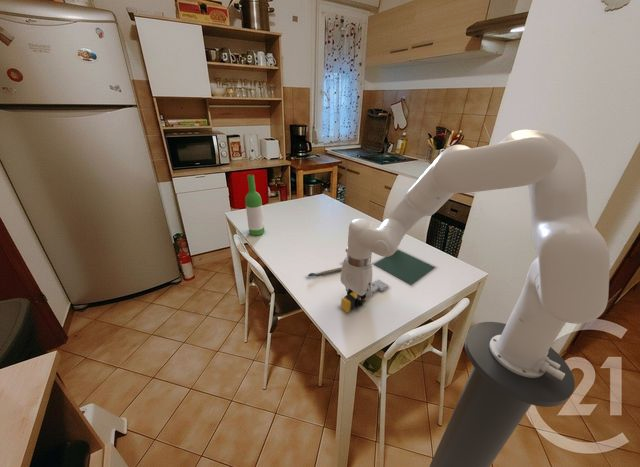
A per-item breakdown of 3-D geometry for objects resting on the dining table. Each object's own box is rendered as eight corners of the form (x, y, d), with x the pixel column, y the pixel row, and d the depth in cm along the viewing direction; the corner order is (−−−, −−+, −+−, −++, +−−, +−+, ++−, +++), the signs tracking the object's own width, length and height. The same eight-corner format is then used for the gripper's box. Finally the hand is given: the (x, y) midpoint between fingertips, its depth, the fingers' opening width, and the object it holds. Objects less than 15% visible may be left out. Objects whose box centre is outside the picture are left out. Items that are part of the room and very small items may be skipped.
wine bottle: (266, 229, 138) (261, 173, 125) (262, 236, 132) (256, 178, 118) (252, 228, 139) (245, 172, 125) (247, 235, 132) (239, 177, 118)
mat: (434, 267, 110) (434, 267, 110) (411, 284, 99) (411, 284, 99) (398, 250, 122) (398, 249, 122) (373, 264, 111) (373, 263, 111)
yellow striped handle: (387, 287, 98) (388, 278, 96) (348, 314, 86) (349, 304, 84) (378, 281, 101) (379, 273, 99) (339, 306, 89) (340, 297, 87)
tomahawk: (350, 262, 113) (350, 260, 113) (357, 270, 108) (357, 267, 107) (304, 271, 107) (304, 268, 106) (309, 279, 101) (309, 276, 101)
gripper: (331, 251, 85) (330, 295, 93) (371, 275, 74) (365, 322, 82) (348, 243, 89) (344, 286, 98) (387, 265, 78) (380, 311, 87)
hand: (354, 302), depth 90 cm, fingers closed on yellow striped handle, 3 cm apart
